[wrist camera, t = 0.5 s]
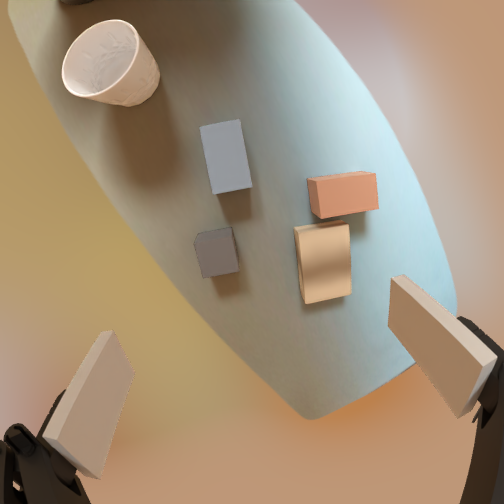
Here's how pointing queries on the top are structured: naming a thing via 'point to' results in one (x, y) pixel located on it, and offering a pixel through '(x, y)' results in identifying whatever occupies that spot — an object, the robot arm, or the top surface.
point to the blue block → (226, 156)
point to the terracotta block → (343, 193)
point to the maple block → (323, 260)
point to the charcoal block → (217, 252)
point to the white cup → (111, 65)
